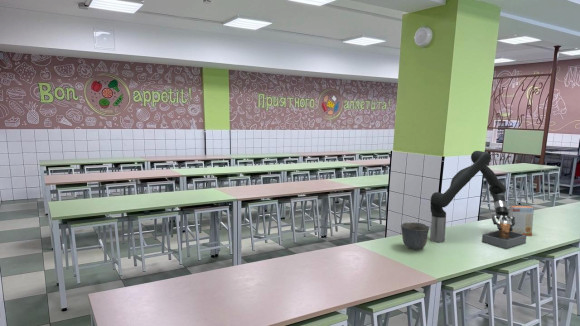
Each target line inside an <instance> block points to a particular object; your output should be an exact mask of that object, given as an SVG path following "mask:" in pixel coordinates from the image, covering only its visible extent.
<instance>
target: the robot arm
mask: <svg viewBox="0 0 580 326" xmlns="http://www.w3.org/2000/svg"><path fill="white" fill-rule="evenodd" d="M491 159H492V155H491V154H490V153H489V152H486V151H481V150H475V151H473V152H472V153H471V155H470V160H471V162H472V164H471V165H469V166H467V167H464V168H463V169H460V170H459V171H458V172H457V173H456V174H454V176H453V177H452V178H451V181H450V185H449V188H448V189H446V191H445V192H443V193H441V192H440V191H439V192H438V191H437V192H434V193H432V195H431V196H430V213H431V217H430V218H431V221H430V226H429V227H430V228H429V231H430V232H429V240H430V242H434V243H444V242H445V241H446V226H447V225H446V224H447V211H445V209H443V208H446V207H447V206H449V204H450V203H451V202H452V201H453V200H454V199H455V197H456V196H457V195H458V193H460V191H461V190H462V189H463V188H464V187H465V186H466V185H467V184H468V183H469V182H471V180H472V179H473V178H474V177H475V176H476V175H477V174H478V173H479V172H480V173H481V174H482V175H483V177H484V179H485V181H486V182H487V185H488V186H489V188H488V191H489V193H490V195H491V196H492V199H493V202H494V211H495V215H491V220H492V223H493V225H496V227H497V230H501V227H500V220H501V219H505V220H509V219H511V220H512V223H511V222H510V231H512V230H513V228H512V226H514V224H515V217H510V216H509V209H508V206H507V205H508V204H507V202H506V197H505V196H504V195H503V194H505V193H506V191H507V187H506V186H505V184H504V183H502V182H501V181H500V180H499V178H498V177H497V175H496V173H495V172H494V171H493V170H492V169H491V168H490V167H489V166H488V164H489V163H490V162H491ZM496 219H497V220H498V221H497V220H496Z"/></svg>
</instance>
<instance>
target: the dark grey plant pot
mask: <svg viewBox="0 0 580 326" xmlns="http://www.w3.org/2000/svg"><path fill="white" fill-rule="evenodd" d="M430 227H431V226H429V225H426V224H425V223H421V222H404V223H401V224H400V228H401V236H402V237H401V238H402V242H403V244H404V246H406V247H407V248H408V249H413V250H421V249H423V248H425V246H426V245H427V241H428V236H429V231H430Z"/></svg>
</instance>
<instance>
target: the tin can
mask: <svg viewBox="0 0 580 326" xmlns="http://www.w3.org/2000/svg"><path fill="white" fill-rule="evenodd" d="M500 227H501V230H499V229H498V230H499V239H502V240H509V236H510V220H505V219H501V220H500Z"/></svg>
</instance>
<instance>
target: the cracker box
mask: <svg viewBox="0 0 580 326" xmlns="http://www.w3.org/2000/svg"><path fill="white" fill-rule="evenodd" d="M508 214H509V216H510V217H515V224H514V226H512V228H513V230H512V232H516V233H520V234H523V235H526V237H529V236H531V237H532V236H533V223H534V207H533V206H530V205H509V209H508ZM509 220H510V222H511V223H512V220H511V219H509Z"/></svg>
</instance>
